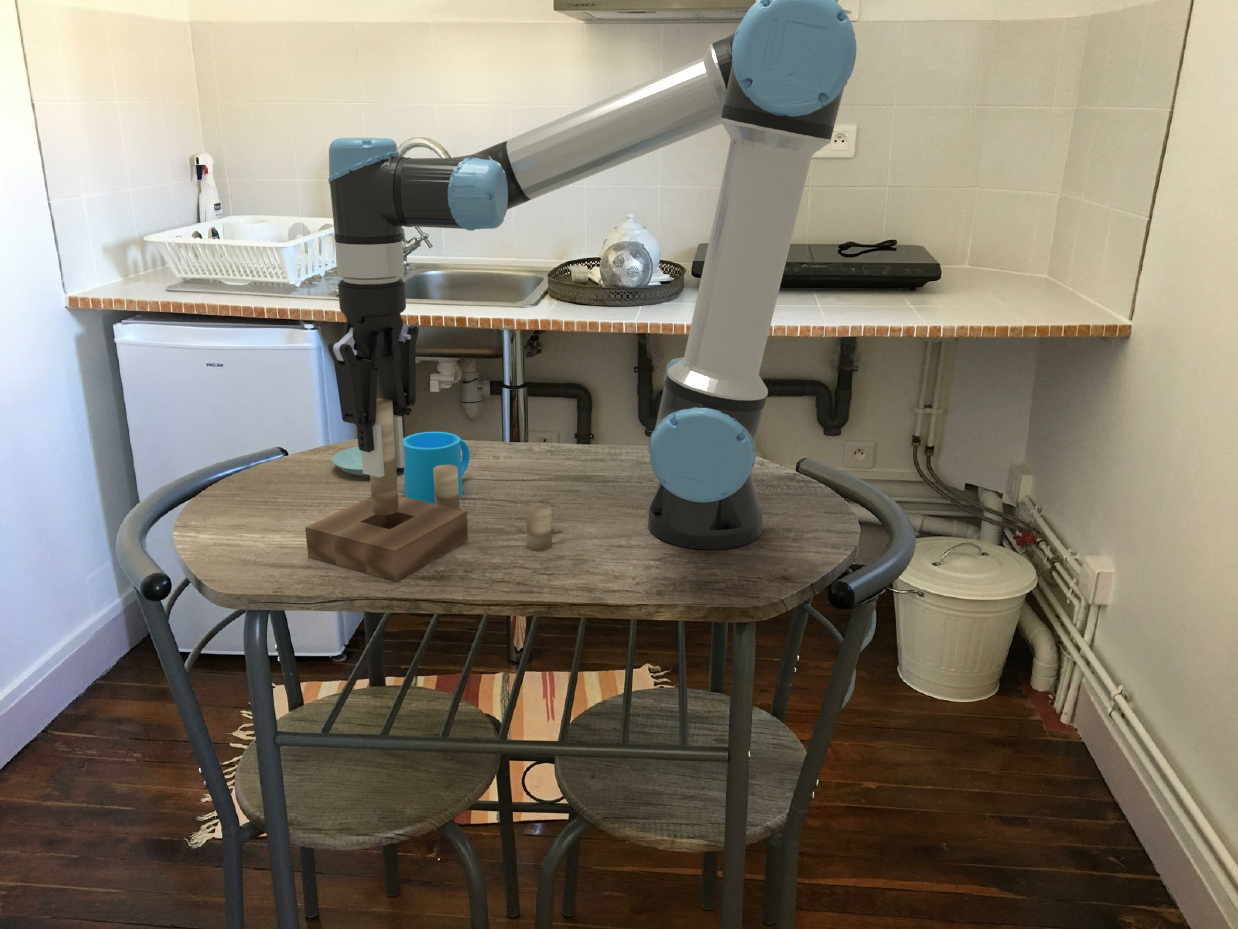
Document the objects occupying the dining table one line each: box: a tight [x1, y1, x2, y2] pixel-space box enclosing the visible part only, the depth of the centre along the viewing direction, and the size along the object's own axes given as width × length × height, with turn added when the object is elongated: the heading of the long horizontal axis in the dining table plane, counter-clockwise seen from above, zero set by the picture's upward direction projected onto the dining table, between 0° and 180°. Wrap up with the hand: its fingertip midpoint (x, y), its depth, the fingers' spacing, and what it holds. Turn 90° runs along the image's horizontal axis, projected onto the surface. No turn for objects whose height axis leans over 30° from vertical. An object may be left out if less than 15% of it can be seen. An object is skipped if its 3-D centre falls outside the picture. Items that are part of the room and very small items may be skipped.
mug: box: [403, 431, 471, 504], centre depth 146 cm, size 12×8×8 cm
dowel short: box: [525, 504, 553, 552], centre depth 128 cm, size 3×3×5 cm
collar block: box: [304, 495, 469, 582], centre depth 127 cm, size 14×14×4 cm
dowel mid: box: [434, 465, 460, 510], centre depth 136 cm, size 3×3×7 cm
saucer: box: [331, 445, 399, 478], centre depth 155 cm, size 12×12×2 cm
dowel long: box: [369, 397, 399, 515], centre depth 124 cm, size 3×3×14 cm
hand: (384, 469), depth 124 cm, fingers closed on dowel long, 3 cm apart
